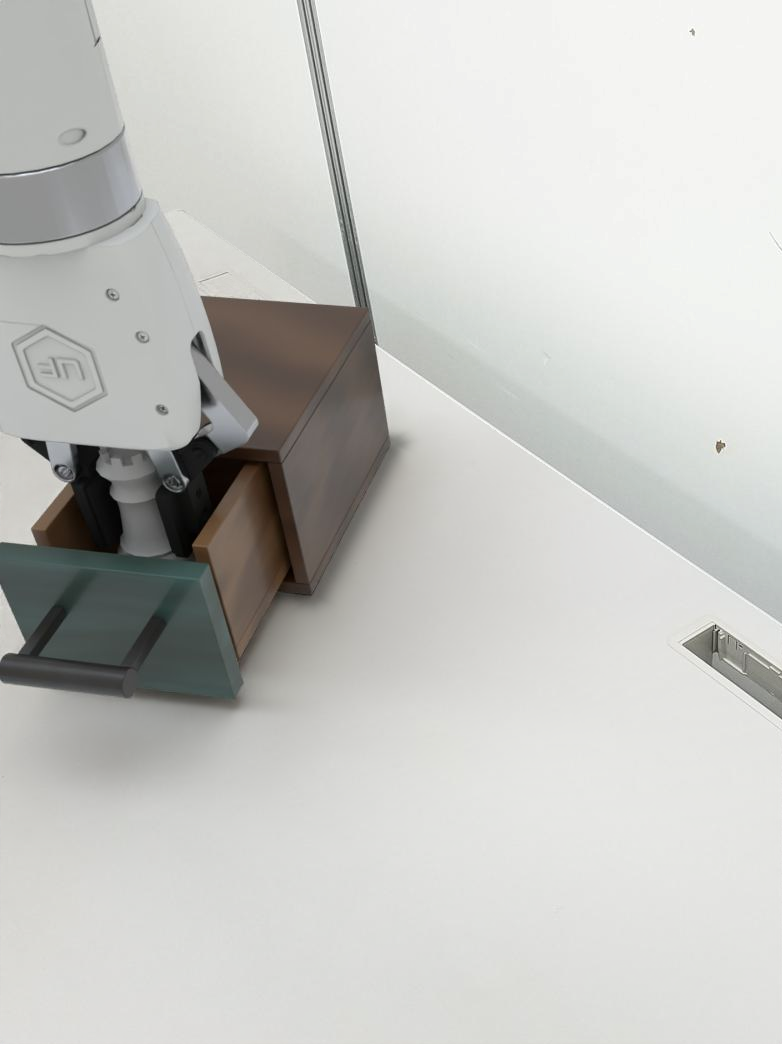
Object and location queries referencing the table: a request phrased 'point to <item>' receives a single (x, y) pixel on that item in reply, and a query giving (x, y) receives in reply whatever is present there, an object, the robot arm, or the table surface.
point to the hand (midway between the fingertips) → (154, 533)
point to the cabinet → (305, 414)
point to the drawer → (146, 597)
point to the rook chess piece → (136, 502)
